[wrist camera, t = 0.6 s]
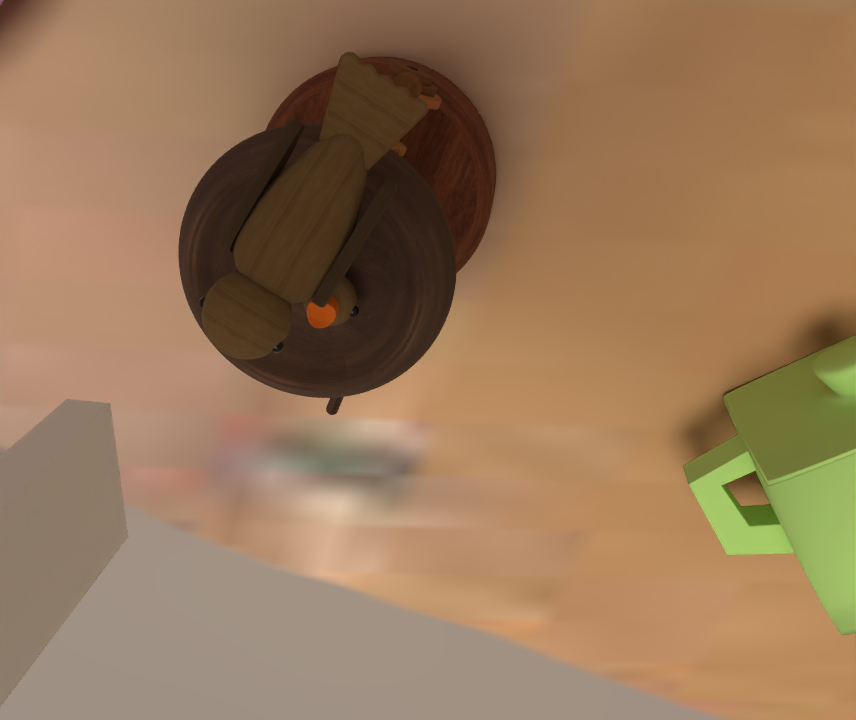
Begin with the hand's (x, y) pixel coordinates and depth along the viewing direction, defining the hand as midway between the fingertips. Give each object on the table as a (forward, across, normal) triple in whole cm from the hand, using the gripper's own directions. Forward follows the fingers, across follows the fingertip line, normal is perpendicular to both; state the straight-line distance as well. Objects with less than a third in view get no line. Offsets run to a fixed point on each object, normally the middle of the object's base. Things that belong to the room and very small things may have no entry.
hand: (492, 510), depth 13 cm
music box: (+27, -6, -1) cm, 27 cm away
